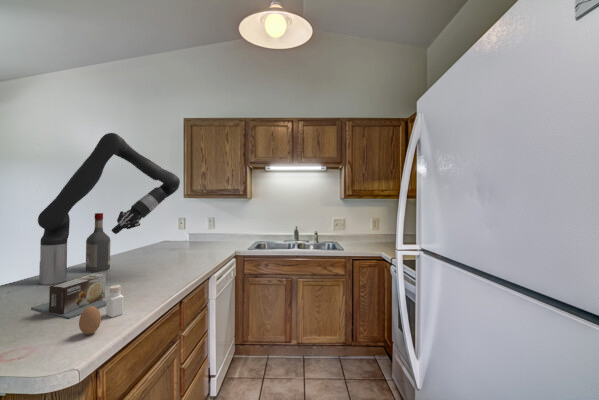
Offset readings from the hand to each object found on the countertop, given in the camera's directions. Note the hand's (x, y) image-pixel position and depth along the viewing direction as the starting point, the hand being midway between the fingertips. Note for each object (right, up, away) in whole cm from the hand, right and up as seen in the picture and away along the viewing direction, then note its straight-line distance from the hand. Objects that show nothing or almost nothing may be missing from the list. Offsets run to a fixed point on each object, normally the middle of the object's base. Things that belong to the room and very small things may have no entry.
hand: (113, 232), depth 126 cm
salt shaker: (+20, -24, -30) cm, 44 cm away
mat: (+1, -24, -24) cm, 34 cm away
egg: (+21, -25, -43) cm, 54 cm away
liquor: (-25, -23, +25) cm, 42 cm away
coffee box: (+5, -19, -16) cm, 25 cm away
